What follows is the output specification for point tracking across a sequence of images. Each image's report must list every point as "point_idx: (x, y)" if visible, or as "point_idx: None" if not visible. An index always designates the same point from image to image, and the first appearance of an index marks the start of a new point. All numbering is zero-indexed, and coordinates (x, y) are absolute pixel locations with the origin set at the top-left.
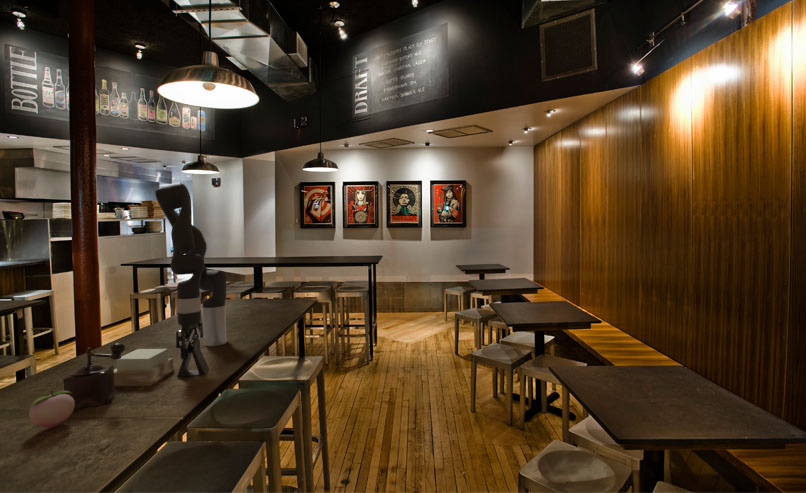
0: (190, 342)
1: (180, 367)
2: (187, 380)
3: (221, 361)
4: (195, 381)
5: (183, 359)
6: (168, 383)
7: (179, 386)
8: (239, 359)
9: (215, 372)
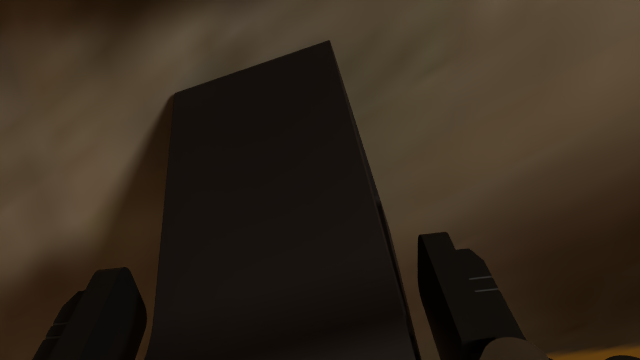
0: (389, 348)
1: (170, 162)
2: (145, 207)
3: (579, 224)
4: (143, 267)
5: (164, 241)
6: (40, 100)
7: (26, 220)
8: (595, 315)
9: None
